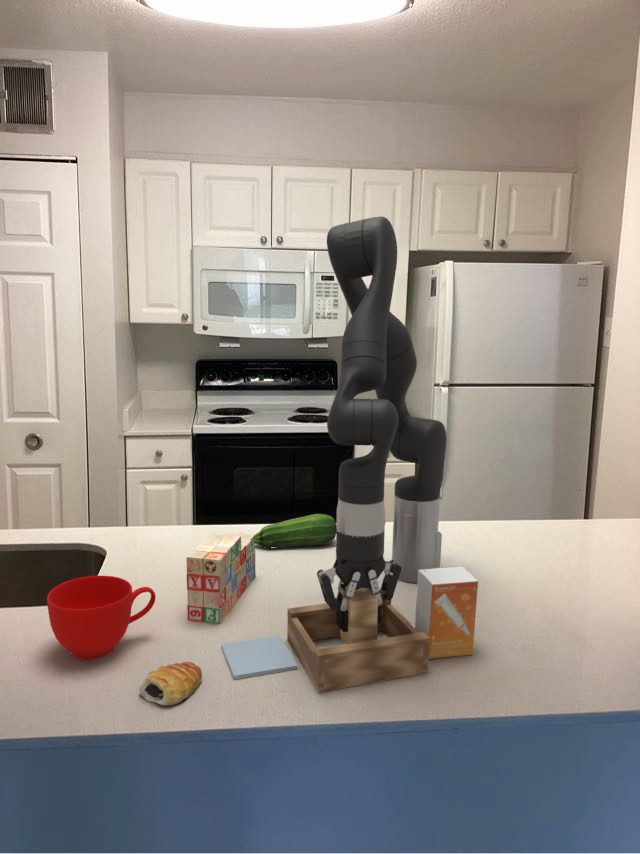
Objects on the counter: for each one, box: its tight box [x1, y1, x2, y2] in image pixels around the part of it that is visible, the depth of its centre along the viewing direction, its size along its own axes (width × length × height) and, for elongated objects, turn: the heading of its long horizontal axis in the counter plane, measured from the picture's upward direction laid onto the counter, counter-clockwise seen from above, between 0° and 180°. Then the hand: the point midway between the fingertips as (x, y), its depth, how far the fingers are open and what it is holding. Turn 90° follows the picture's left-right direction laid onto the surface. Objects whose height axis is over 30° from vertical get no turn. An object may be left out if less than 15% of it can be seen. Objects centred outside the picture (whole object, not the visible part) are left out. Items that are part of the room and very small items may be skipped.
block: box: [340, 588, 378, 644], centre depth 110 cm, size 4×4×8 cm
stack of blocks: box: [186, 532, 256, 625], centre depth 130 cm, size 21×6×12 cm, turn 168°
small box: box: [414, 566, 479, 660], centre depth 113 cm, size 8×6×13 cm
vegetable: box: [254, 513, 336, 549], centre depth 159 cm, size 7×7×20 cm
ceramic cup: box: [46, 575, 156, 660], centre depth 112 cm, size 13×17×10 cm
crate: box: [286, 599, 430, 693], centre depth 110 cm, size 18×16×6 cm
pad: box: [220, 635, 298, 680], centre depth 110 cm, size 10×10×1 cm
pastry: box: [138, 661, 203, 707], centre depth 101 cm, size 9×7×4 cm
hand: (358, 626), depth 110 cm, fingers closed on block, 4 cm apart
